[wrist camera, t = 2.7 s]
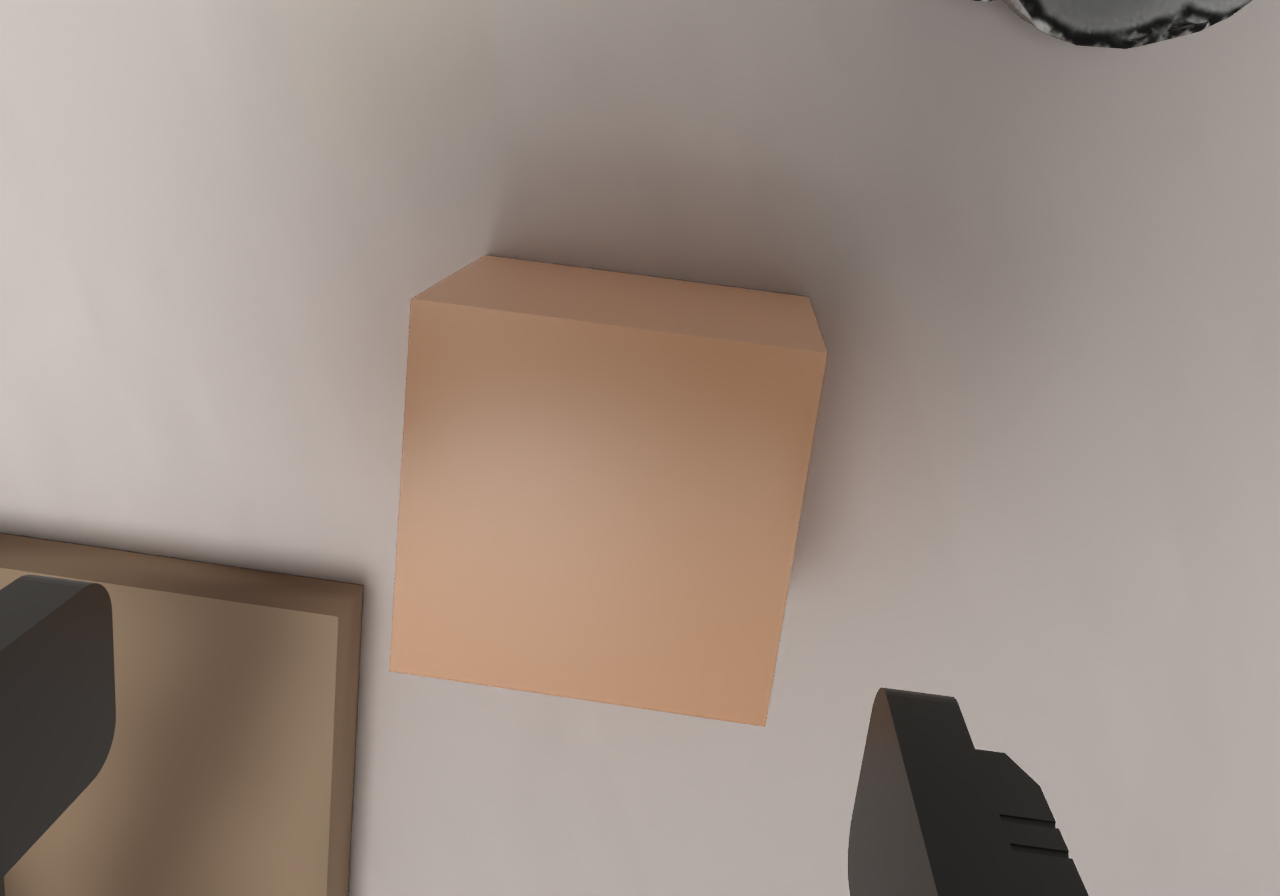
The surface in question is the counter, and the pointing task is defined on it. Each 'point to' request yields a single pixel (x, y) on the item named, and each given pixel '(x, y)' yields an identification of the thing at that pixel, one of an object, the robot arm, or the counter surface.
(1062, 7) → the brain slice
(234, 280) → the counter surface
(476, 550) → the peach tan cube
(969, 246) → the counter surface
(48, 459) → the counter surface
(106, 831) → the socket base
